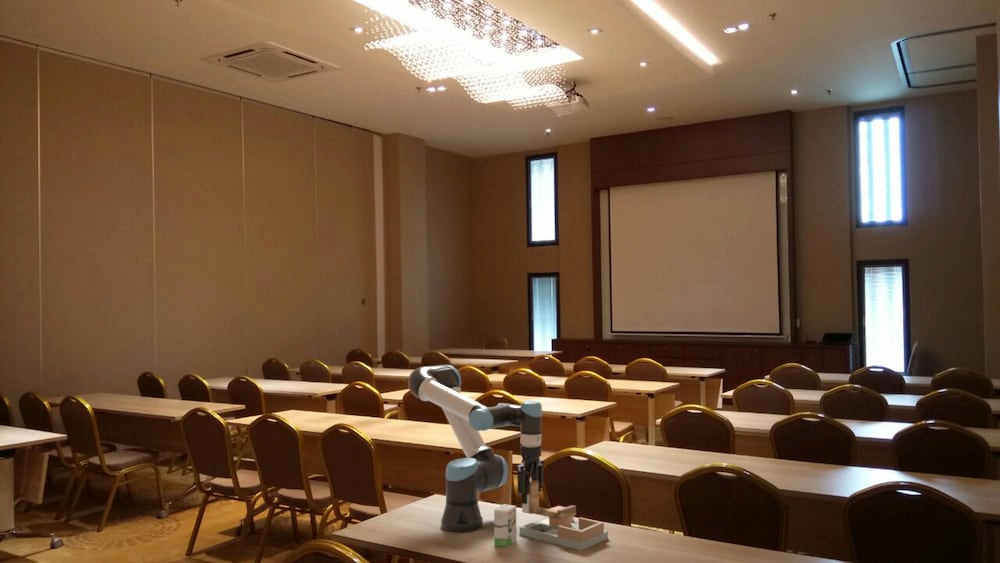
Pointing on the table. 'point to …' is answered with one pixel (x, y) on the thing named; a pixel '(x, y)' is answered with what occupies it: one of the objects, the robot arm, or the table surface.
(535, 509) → the crook
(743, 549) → the table surface
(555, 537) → the grey sorting tray
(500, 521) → the ink box
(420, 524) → the table surface
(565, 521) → the block
